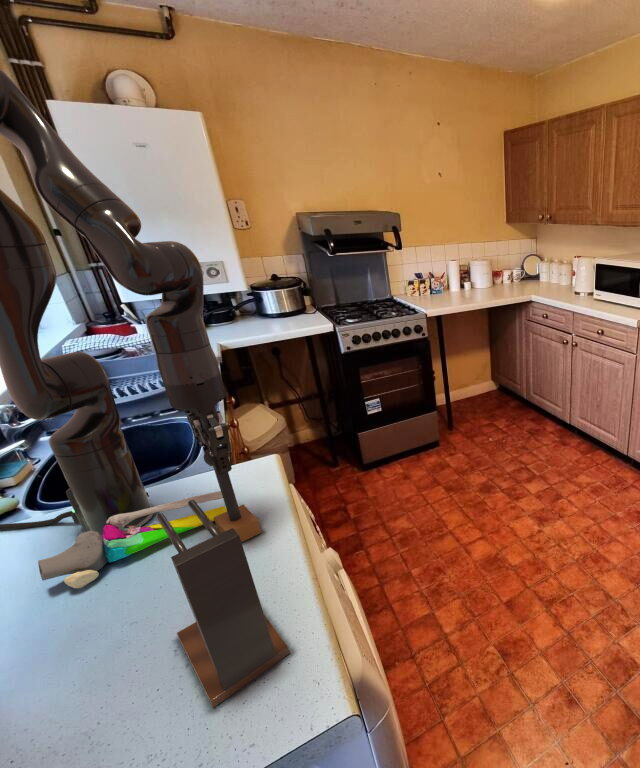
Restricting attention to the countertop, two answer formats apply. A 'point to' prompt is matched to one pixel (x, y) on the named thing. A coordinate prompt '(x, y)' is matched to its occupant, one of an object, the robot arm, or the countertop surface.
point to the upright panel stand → (222, 612)
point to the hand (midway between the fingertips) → (220, 467)
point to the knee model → (118, 542)
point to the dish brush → (233, 509)
